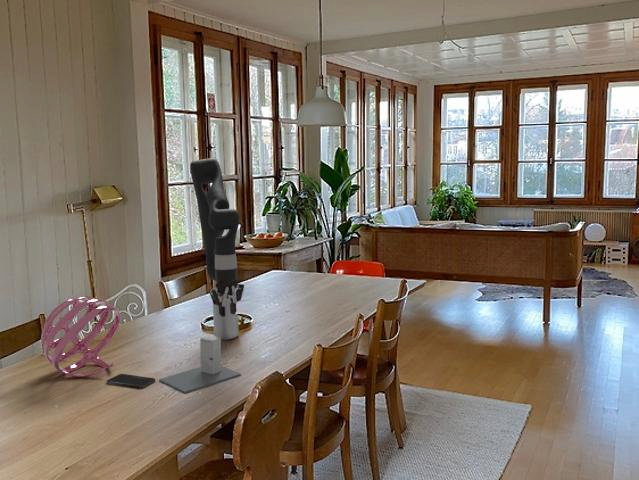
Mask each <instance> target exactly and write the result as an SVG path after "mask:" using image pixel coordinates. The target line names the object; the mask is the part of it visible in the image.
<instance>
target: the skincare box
mask: <svg viewBox="0 0 639 480" xmlns="http://www.w3.org/2000/svg"><path fill="white" fill-rule="evenodd" d="M199 342H200V343H199V344H200V349H199V350H200V367H201V372H205V373H208V374H216V373H218V372H220V371H221V366H222V347H221V345H222V343H221V342H222V340H221V338H219V337H215V336H214V335H210V334H209V335H208V334H207V335H204V336H203V337H200V341H199Z"/></svg>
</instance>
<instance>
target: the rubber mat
mask: <svg viewBox="0 0 639 480" xmlns="http://www.w3.org/2000/svg"><path fill="white" fill-rule="evenodd" d="M241 375H242V373H240V372H238V371H236V370H234V369H233V370H232V369H230V368H227V367H226V366H223V365H221V371H220V372H218V373H216V374H208V373H205V372H201V366H199V367H195V368H192V369H189V370H185V371H182V372H179V373H175V374H172V375H169V376H166V377H165V376H164V377H162V378H159V379H158V381H159V382H161V383H163V384H165V385H166V386H169V387H171V388H173V389H175V390H177V391H178V392H181V393H183V394H187V393H191V392H194V391H197V390H200V389H203V388H207V387H209V386H212V385H215V384H218V383H222V382H224V381H227V380H230V379H234V378H237V377H240V376H241Z"/></svg>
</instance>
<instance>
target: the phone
mask: <svg viewBox="0 0 639 480" xmlns="http://www.w3.org/2000/svg"><path fill="white" fill-rule="evenodd" d="M154 383H156V378H155V377H147V376H142V375H141V376H140V375H134V374H125V373H119V374H117V375H115V376H113V377H111V378H109V379H107V380H106V384H107V385H114V386H120V387H125V388H132V389H138V390H139V389H141V390H142V389H145V388H147V387H149V386H150V385H152V384H154Z"/></svg>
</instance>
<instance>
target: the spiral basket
mask: <svg viewBox="0 0 639 480" xmlns="http://www.w3.org/2000/svg"><path fill="white" fill-rule="evenodd" d="M82 300H83V301H82ZM80 301H81V302H80ZM99 302H101V303H102V305H100V306H99V307H97V303H99ZM71 305H72V307H71V309H70V310H68V312H66V313H65V314H64V315H63V316H62V317H61V316H59V315H60V314H61V313H63V312H64V310H65V309H67V308H69V306H71ZM86 307H87V310H86V311H85V313H84V315H83V316H82V317H81V318H79V319H78V320H77V321H76V322H75V323H74V324H73V325H72V326H71V327H70V328H69V325H70V323H71V322H72V321H73V320H74V319H75V317H77V315H78V313H79V312H80V311H81V310H83V309H84V308H86ZM111 311H114V312H115V318H114V320H113V323H112V325H111V327H110V328H109V330H108V332H107V334H105V335H104V337H103V338H102V340H101V341H100V342H99V343H98V344H97V346H95V347H94V348H93V349H89V347H88V346H89V344H91V342H92V341H93V340H94V339H95V338H96V337H97V336H98V334H99V333H100V332H101V330H103V328H104V326H105V325H106V322H107V320H108V319H109V315H110V312H111ZM58 316H59V320H58V321H57V322H56V324H55V325H53V322H54V320H55V319H56V318H57V317H58ZM98 316H100V317H99V318H98V321H97V322H96V324H95V326H94V327H93V328H92V330H91V331H90V332H89V333H88V334H87V336H85V337H84V338H83V339H79V338H78V335H79V334H80V333H81V331H83V330H84V328H85V327H86V326H87V325H88V323H89V322H90V321H92V320H93V319H94V318H96V317H98ZM121 319H122V317H121V312H120V311H119V309H118V308H117V307H116V306H114V305H112V304H110V303H109V302H108V301H107V300H106V299H103V298H100V297H92V296H89V295H83V296H77V297H75V298H72V299H71V298H70V299H67V300H65V301H63V302H62V303H60V304H58V305H57V306H56V307H55V308H54V309H53V310H52V311H51V312H50V313H49V314H48V316H47V317H46V320H45V322H44V325H43V328H42V332H41V338H40V341H41V345H42V346H43V355H44V356H45V358H46V360H47V361H48V362H49V363H50V364H51V365H52V366H53V368H54V369H55V370H57V371H58V372H60V373H62V374H64V375H66V376H68V377H73V378H88V377H93V376H95V375H98V374H100V373H102V372H104V371H105V370H106V369H109V368H112V367H114V363H111V364H109V363H108V362H106V361H104V360H102V359H101V358H99V354H100V353H101V352H102V351H103V349H104V348H105V347H106V346H107V345H108V344H109V343H110V341H111V340H112V338H113V337H114V336H115V334H116V332H117V330H118V328H119V326H120V323H121ZM52 325H53V326H52ZM61 330H63V331H64V333H65V334H64V335H63V336H62V337H60V338H58V339H56V340H54V338H55V336H56V335H57V334H58V332H59V331H61ZM70 342H71V343H72V344H73V347H72V348H71V349H68V350H67V351H66V352H64V350H65V349H66V347H67V345H68V344H69V343H70ZM52 349H54V351H53V354H51V351H50V350H52ZM63 352H64V353H63ZM77 354H82V355H83V357H82V358H81V359H80V360H78V361H76V362H75V363H72V364H71V365H68V366H65V367H60V366H59V365H60V364H59V363H60V362H64V361H66V360H68V359H70V358H73V357H74V356H75V355H77ZM88 363H94V364H95V365H97V366H99V367H101V368H100V369H97V370H96V371H94V372H93V371H92V372H90V373H86V374H85V373H83V374H77V373H72V372H73V371H76V370H78V369H80V368H81V367H84V366H85V365H86V364H88ZM70 372H71V373H70Z"/></svg>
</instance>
